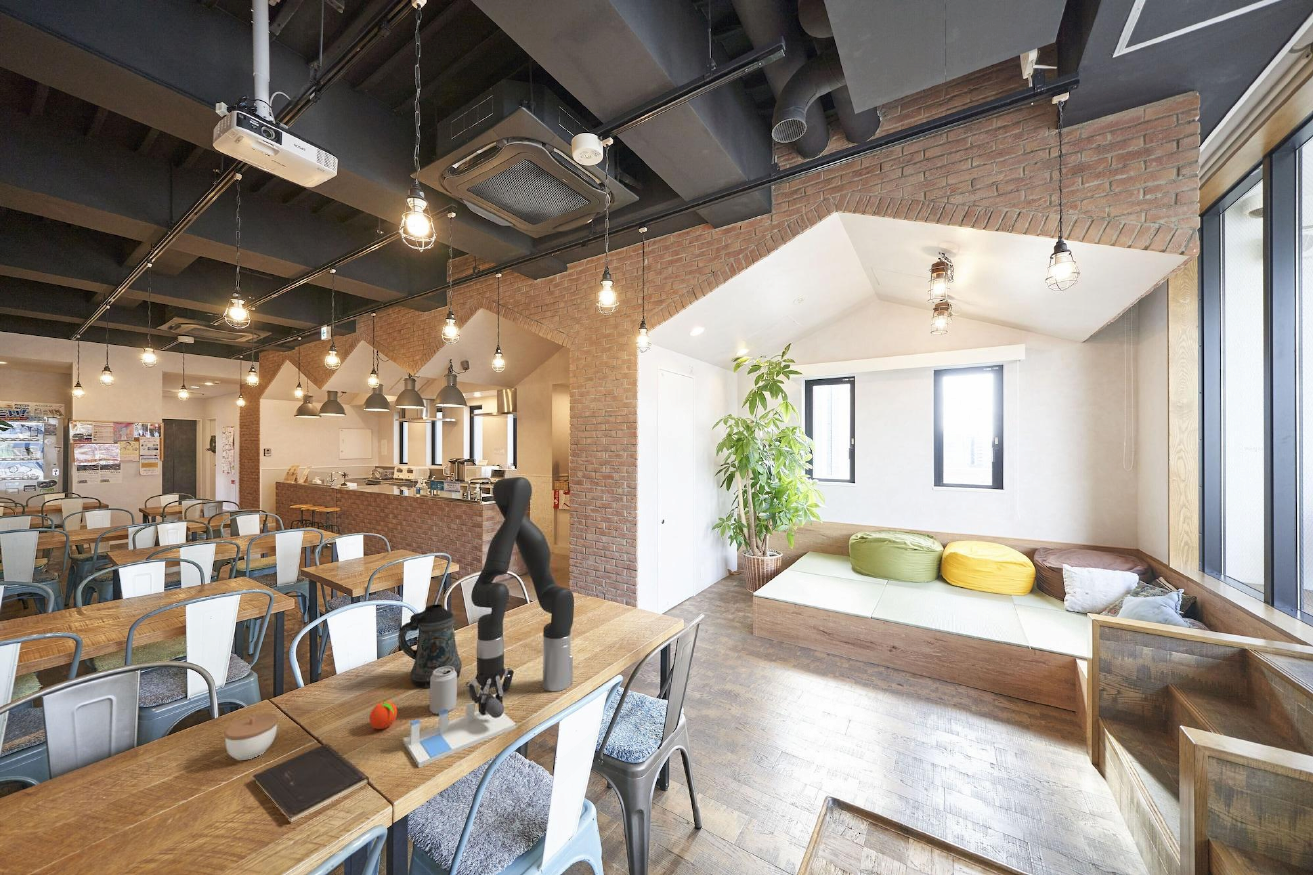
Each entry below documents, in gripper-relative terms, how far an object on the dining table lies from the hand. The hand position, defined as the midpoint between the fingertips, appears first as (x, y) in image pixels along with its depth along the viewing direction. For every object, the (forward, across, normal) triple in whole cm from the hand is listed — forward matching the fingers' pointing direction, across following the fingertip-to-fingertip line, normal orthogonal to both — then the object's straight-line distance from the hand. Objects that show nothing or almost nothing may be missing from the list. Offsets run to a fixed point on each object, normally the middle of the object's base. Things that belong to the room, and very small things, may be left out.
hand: (490, 710), depth 139 cm
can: (+5, +7, -19) cm, 21 cm away
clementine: (+4, +23, -20) cm, 31 cm away
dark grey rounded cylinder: (0, 0, 0) cm, 0 cm away
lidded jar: (+4, +52, -30) cm, 60 cm away
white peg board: (+4, +8, -1) cm, 9 cm away
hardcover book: (+4, +42, -6) cm, 43 cm away
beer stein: (+5, +2, -42) cm, 42 cm away
